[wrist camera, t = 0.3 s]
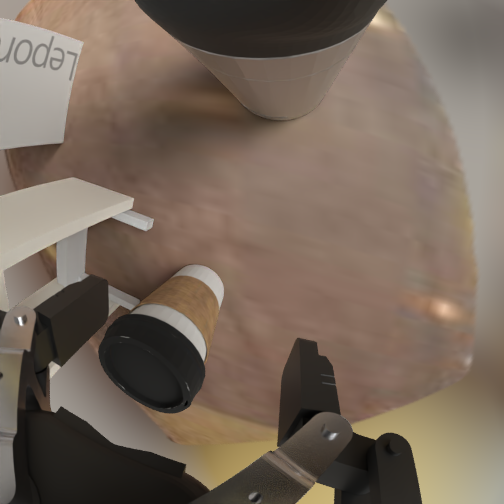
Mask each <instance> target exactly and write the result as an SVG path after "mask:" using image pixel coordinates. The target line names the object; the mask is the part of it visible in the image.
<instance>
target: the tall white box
mask: <svg viewBox="0 0 504 504" xmlns="http://www.w3.org/2000/svg"><path fill="white" fill-rule="evenodd" d="M83 43H84V42H82V41H79V40H76V39H73V38H71V37H68V36H65V35H62V34H59V33H56V32H53V31H50V30H46V29H43V28H40V27H36V26H33V25H29V24H25V23H21V22H17V21H13V20H8V19H3V18H0V150H4V149H11V148H19V147H27V146H36V145H47V144H60V143H63V140H64V131H65V124H66V117H67V111H68V105H69V99H70V94H71V89H72V84H73V80H74V76H75V72H76V68H77V64H78V60H79V56H80V53H81V49H82V46H83Z"/></svg>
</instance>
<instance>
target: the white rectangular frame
mask: <svg viewBox="0 0 504 504" xmlns="http://www.w3.org/2000/svg"><path fill="white" fill-rule="evenodd" d="M133 202H134V198H132V197H129V196H126V195H124V194H121V193H118V192H115V191H112V190H109V189H106V188H103V187H101V186H98V185H95V184H92V183H89V182H86V181H83V180H80V179H77V178H74V177H72V178H67V179H62V180H58V181H53V182H49V183H45V184H41V185H37V186H33V187H29V188H25V189H22V190H18V191H15V192H11V193H8V194H5V195H1V196H0V310H2V311H5V312H8V311H9V310H10V307H9V302H8V298H7V292H6V285H5V279H4V272H3V271H4V270H6V269H8V268H9V267H11V266H13V265H15V264H16V263H18V262H20V261H22V260H24V259H26V258H27V257H29V256H31V255H33V254H35V253H37V252H39V251H41V250H42V249H44V248H46V247H48V246H50V245H52V244H54V243H56V242H57V277H56V278H55V279H53V280H52V281H50V282H49V283H47V284H46V285H44V286H43V287H42V288H40V289H39V290H37V291H36V292H34V293H33V294H31V295H30V296H29V297H27V298H26V299H24V300H23V301H22V302H20V303H19V304H18V305H16V306H15V307H19V306H26V307H29V308H31V309H34V308H35V307H37V306H38V305H40V304H41V303H42V302H44V301H45V300H47V299H48V298H50V297H51V296H53V295H55V294H56V293H57V292H59V291H61V290H62V289H63V288H65V287H66V286H68V285H69V284H72V283H76V282H79V281H82V280H83V279H85V278H86V277H88V276H89V275H88V274H86V273H85V256H86V241H87V229H88V227H90V226H92V225H94V224H97V223H99V222H101V221H103V220H106V219H108V218H110V217H111V218H114V219H116V220H119V221H121V222H124V223H126V224H129V225H132V226H134V227H137V228H139V229H142V230H144V231H147V230H149V229H150V228H152V226H153V221H154V219H152V218H150V217H147V216H144V215H142V214H139V213H136V212H134V211H131V210H129V209H132V207H133ZM108 288H109V315H108V317H109V316H110V315H111V314H112V313H113V312H114V311H115V310H116V309H117V308H118V307H119V305H121V306H123V307H125V308H127V309H129V310H131V309H133V308H134V307H135V306H136V305H138V304H139V303H140V300H139V299H137V298H135V297H133V296H131V295H128V294H126V293H124V292H122V291H120V290H118V289H116V288H114V287H112V286H110V285H108ZM15 307H13V308H15ZM60 367H61V366H59V365H57V364H56V363H54V362H53V361H52V362H51V363H50V364H49V368H50V379H51V377H52V376H53V375H54V374H55V373H56V372H57V371H58V369H59V368H60Z"/></svg>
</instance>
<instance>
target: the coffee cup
mask: <svg viewBox="0 0 504 504" xmlns="http://www.w3.org/2000/svg"><path fill="white" fill-rule="evenodd" d="M223 296H224V288H223V284H222V281H221V280H220V278H219V277H218V275H217V274H216V273H215V272H214V271H212V270H211V269H209V268H208V267H205V266H203V265H188V266H186V267H184V268H182V269H181V270H180V271H178V272H177V273H176V274H175V275H174V276H173V277H171V278H170V279H169V280H167V281H166V282H165V283H164V284H162V285H161V286H160V287H159V288H157V289H156V290H155V291H154V292H152V293H151V294H150V295H149V296H147V297H146V298H145V299H144V300H142V301H141V302H140V303H139V304H138V305H136V306H135V307H134V308H133V309H131V310H130V312H129V313H128V314H127V315H124V316H121V317H119V318H118V319H117V320H115V321H114V322H113V324H112V325H111V326H109V328H108V329H107V331H106V333H105V337H104V339H103V340H102V342H101V344H100V346H99V351H98V353H99V359H100V362H101V365H102V367H103V369H104V371H105V372H106V374H107V375H108V376H109V378H110V379H111V380H112V381H113V382H114V384H115V385H116V386H118V387H119V388H120V389H121V390H122V391H123V392H124V393H126V394H127V395H128V396H130V397H131V398H133V399H134V400H136V401H137V402H139V403H141V404H143V405H145V406H147V407H149V408H151V409H153V410H156V411H159V412H163V413H178V412H181V411H183V410H185V409H187V408H188V407H189V406H190V405H191V402H192V400H193V399H194V397H195V395H196V394H197V393H198V391H199V390H200V389H201V387H202V384H203V381H204V378H205V366H204V364H205V363H206V361H207V358H208V354H209V350H210V346H211V342H212V338H213V334H214V330H215V326H216V322H217V318H218V314H219V309H220V306H221V303H222V300H223Z"/></svg>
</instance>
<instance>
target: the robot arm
mask: <svg viewBox="0 0 504 504" xmlns="http://www.w3.org/2000/svg"><path fill="white" fill-rule="evenodd" d="M386 1H387V0H135V2H136V3H137V4H138V6H139V7H140V8H141V9H142V10H143V11H144V12H145V13H146V14H147V15H148V16H149V17H150V18H151V19H152V20H153V21H155V22H156V23H157V24H158V25H159V26H161V27H162V28H163V29H164V30H165V31H167V32H168V33H169V34H170V35H171V36H172V37H173V38H174V39H176V40H177V41H178V42H179V43H180V44H181V45H182V46H183V47H185V48H186V49H187V50H188V51H189V52H190V53H191V54H192V55H193V56H194V57H196V58H197V59H198V60H199V61H200V62H201V63H202V64H203V65H204V66H205V67H206V68H207V69H208V70H209V71H210V72H211V73H212V74H213V75H214V76H215V77H216V78H217V79H218V80H219V81H220V82H221V83H222V84H223V85H224V86H225V87H226V88H227V89H228V90H229V91H230V92H231V93H232V94H233V95H234V96H235V97H236V98H237V99H238V100H239V101H240V102H241V104H242V105H243V106H244V107H246V108H247V109H248V110H250V111H251V112H253V113H254V114H256V115H258V116H261V117H263V118H267V119H271V120H291V119H296V118H299V117H301V116H304V115H306V114H307V113H309V112H311V111H312V110H313V109H315V108H316V107H317V106H318V105H319V104H320V102H321V101H322V99H323V97H324V96H325V94H326V93H327V92H328V90H329V88H330V87H331V85H332V84H333V82H334V80H335V79H336V77H337V76H338V74H339V72H340V71H341V69H342V68H343V66H344V64H345V63H346V61H347V60H348V58H349V56H350V55H351V53H352V52H353V50H354V48H355V47H356V45H357V43H358V41H359V40H360V38H361V37H362V35H363V34H364V32H365V30H366V29H367V27H368V26H369V24H370V23H371V21H372V19H373V18H374V16H375V15H376V13H377V12H378V10H379V9H380V8H381V7H382V6H383V5H384V3H385V2H386ZM108 315H109V288H108V282H107V280H105V279H103V278H100V277H97V276H95V275H89V276H88V277H86V278H85V279H83V280H82V281H79V282H76V283H72V284H69V285H68V286H66V287H65V288H63V289H62V290H61V291H59V292H57V293H56V294H55V295H53V296H51V297H50V298H48V299H47V300H45V301H44V302H42V303H41V304H40V305H38V306H37V307H35V308H34V309H31V308H29V307H26V306H19V307H15V308H12V309H11V310H9V311H8V312H5V311H2V310H0V504H296V503H297V502H298V501H299V500H300V499H301V498H302V497H303V496H304V495H305V494H306V493H307V492H308V491H309V490H310V489H311V488H312V487H313V485H314V484H315V482H317V483H320V484H323V485H326V486H329V487H332V488H335V496H334V498H335V499H334V504H422V500H421V494H420V488H419V483H418V478H417V473H416V468H415V463H414V458H413V454H412V450H411V447H410V445H409V443H408V441H407V440H406V439H404V438H403V437H402V436H400V435H398V434H394V433H385V434H383V435H381V436H380V437H379V438H378V439H377V440H374V439H371V438H367V437H364V436H361V435H358V434H356V433H354V432H353V430H352V427H351V425H350V423H349V422H348V421H347V420H346V419H345V418H344V417H342V416H341V414H340V407H339V401H338V395H337V389H336V386H335V384H336V383H335V378H334V371H333V366H332V365H331V363H330V362H329V360H328V359H327V357H325V356H320V355H318V348H317V342H315V341H310V340H306V339H301V338H297V339H296V341H295V343H294V346H293V348H292V351H291V353H290V356H289V358H288V360H287V363H286V365H285V368H284V371H283V375H282V380H281V397H280V414H279V428H278V442H277V446H278V447H279V448H278V449H276V450H275V451H273V452H272V451H269V452H267V453H266V454H264V455H263V456H261V457H260V458H259V459H257V460H256V461H255V462H253V463H252V464H250V465H249V466H248V467H246V468H245V469H243V470H242V471H240V472H239V473H237V474H236V475H235V476H233V477H232V478H230V479H228V480H227V481H226V482H224V483H222V484H221V485H219V486H218V487H216V488H214V489H213V490H211V491H210V490H209V489H208V488H207V487H206V486H204V485H203V484H202V483H201V482H199V481H198V480H196V479H195V478H194V477H192V476H190V475H189V474H187V473H185V468H186V464H183V463H180V462H177V461H174V460H171V459H168V458H165V457H163V456H160V455H157V454H154V453H152V452H147V451H142V450H137V449H131V448H126V447H123V446H118V445H115V444H113V443H111V442H110V441H109V440H107V439H106V438H105V437H104V436H102V435H101V434H100V433H99V432H98V431H97V430H95V429H94V428H93V427H92V426H91V425H90V424H88V423H87V422H86V421H84V420H82V419H81V418H79V417H78V416H76V415H74V414H73V413H71V412H69V411H68V410H66V409H64V408H63V407H60V408H59V410H58V411H57V412H56V413H54V412H52V411H51V408H50V368H49V364H50V363H51V362H52V361H53V362H54V363H56V364H57V365H59V366H61V367H62V366H63V365H64V364H65V363H66V362H67V361H68V360H69V359H70V358H71V357H72V356H73V355H74V354H75V353H76V352H77V351H78V350H79V348H80V347H82V345H83V344H85V343H86V341H88V340H89V339H90V338H91V337H92V336H93V335H94V334H95V333H96V332H97V331H98V330H99V329H100V328H101V327H102V326H103V325H104V324H105V322H106V321H107V318H108Z"/></svg>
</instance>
